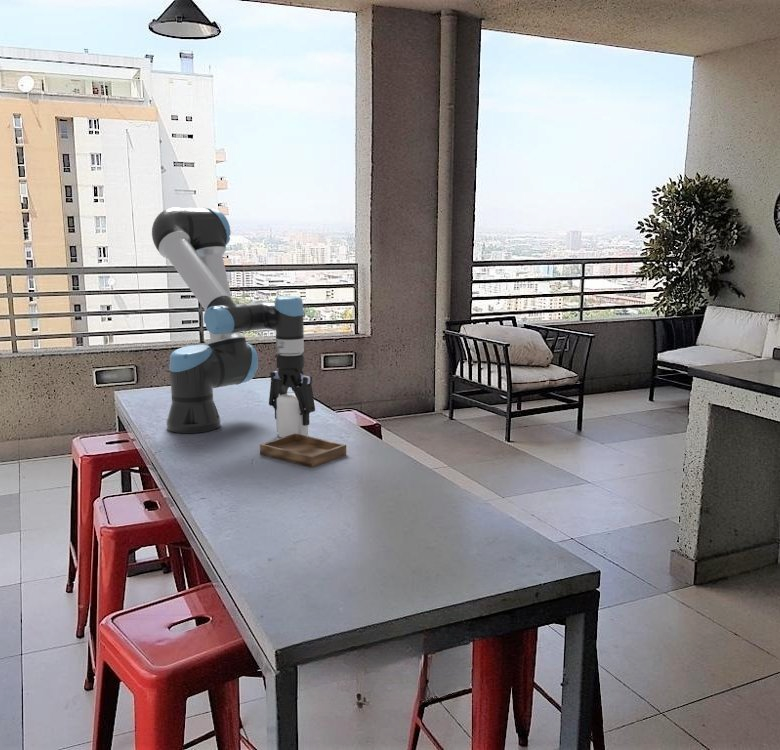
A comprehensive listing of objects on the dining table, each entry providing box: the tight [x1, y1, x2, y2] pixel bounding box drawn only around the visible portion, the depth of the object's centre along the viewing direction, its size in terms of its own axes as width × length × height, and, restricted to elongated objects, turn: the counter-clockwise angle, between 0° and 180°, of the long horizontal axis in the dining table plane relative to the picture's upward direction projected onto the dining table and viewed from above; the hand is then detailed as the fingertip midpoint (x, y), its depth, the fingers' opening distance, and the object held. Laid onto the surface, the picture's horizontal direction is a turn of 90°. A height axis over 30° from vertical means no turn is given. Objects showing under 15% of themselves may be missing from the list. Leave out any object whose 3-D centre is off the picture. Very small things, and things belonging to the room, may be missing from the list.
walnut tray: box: [259, 434, 347, 468], centre depth 190 cm, size 18×13×3 cm
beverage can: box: [276, 391, 301, 438], centre depth 206 cm, size 8×8×12 cm
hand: (292, 433), depth 207 cm, fingers closed on beverage can, 8 cm apart
